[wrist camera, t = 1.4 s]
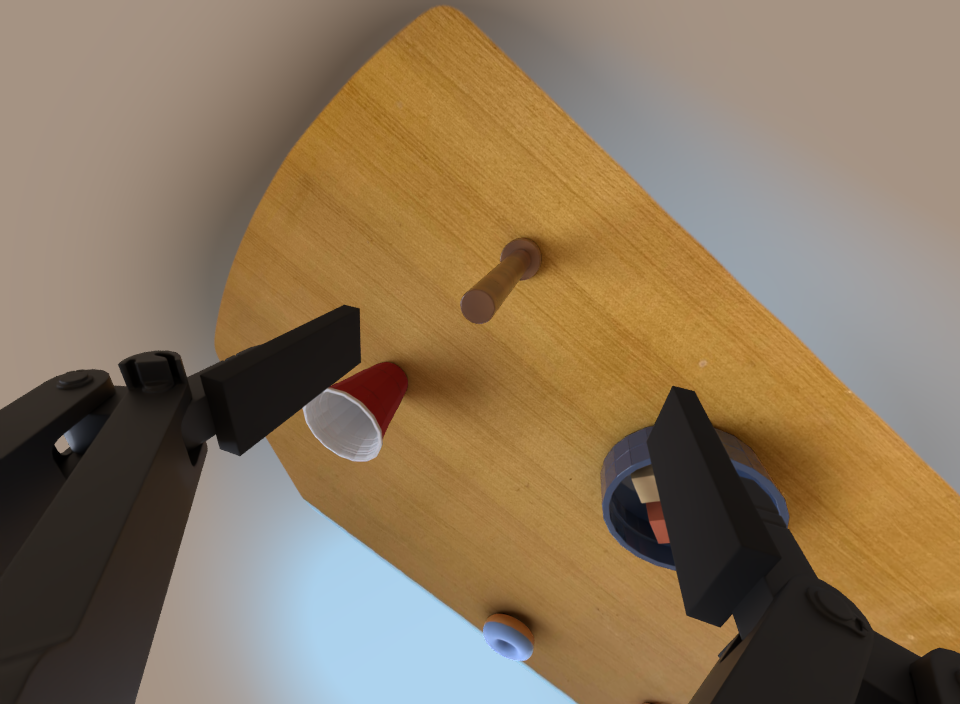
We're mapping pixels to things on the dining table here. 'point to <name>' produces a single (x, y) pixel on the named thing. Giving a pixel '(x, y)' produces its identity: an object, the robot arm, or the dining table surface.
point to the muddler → (501, 280)
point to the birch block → (645, 484)
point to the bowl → (631, 515)
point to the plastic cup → (357, 411)
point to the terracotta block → (657, 521)
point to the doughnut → (508, 637)
